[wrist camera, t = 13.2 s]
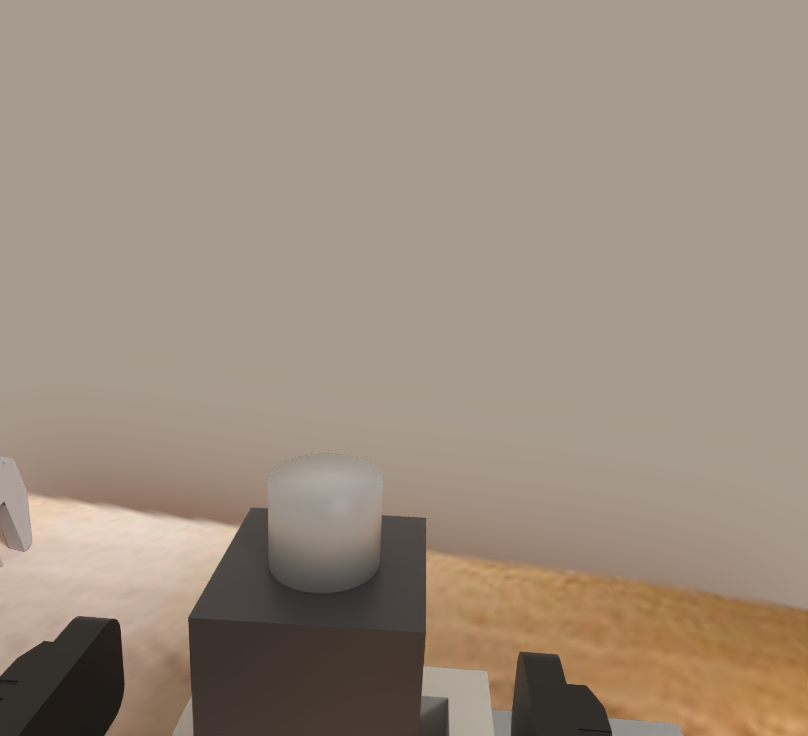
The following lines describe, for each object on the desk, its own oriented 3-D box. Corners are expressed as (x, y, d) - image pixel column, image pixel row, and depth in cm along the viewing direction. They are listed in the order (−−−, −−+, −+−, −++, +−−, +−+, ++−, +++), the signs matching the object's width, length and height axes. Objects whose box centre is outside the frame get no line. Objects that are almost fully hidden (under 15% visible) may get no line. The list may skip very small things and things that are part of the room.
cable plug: (408, 803, 18) (430, 443, 16) (403, 986, 14) (431, 534, 11) (255, 793, 18) (250, 432, 16) (203, 971, 14) (184, 519, 11)
